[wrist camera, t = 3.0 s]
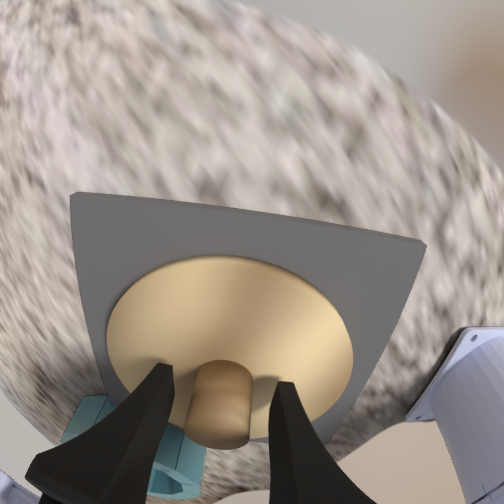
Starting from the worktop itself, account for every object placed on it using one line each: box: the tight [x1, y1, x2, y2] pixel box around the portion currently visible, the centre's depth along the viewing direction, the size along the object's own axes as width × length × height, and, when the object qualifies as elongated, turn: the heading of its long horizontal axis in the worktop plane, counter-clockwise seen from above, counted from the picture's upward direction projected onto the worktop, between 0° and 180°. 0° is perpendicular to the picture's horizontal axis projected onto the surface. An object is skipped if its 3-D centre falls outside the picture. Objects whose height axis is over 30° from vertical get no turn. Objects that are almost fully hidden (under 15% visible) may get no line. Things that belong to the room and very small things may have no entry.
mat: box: [70, 192, 427, 444], centre depth 12 cm, size 14×14×1 cm
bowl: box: [60, 395, 206, 500], centre depth 15 cm, size 10×10×4 cm
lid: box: [107, 254, 353, 450], centre depth 10 cm, size 11×11×4 cm
